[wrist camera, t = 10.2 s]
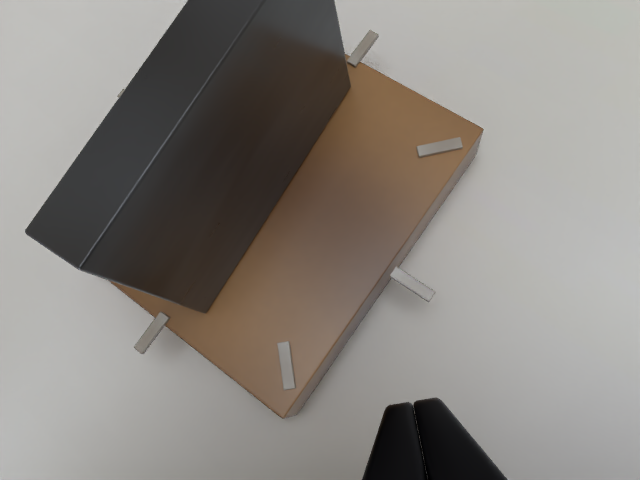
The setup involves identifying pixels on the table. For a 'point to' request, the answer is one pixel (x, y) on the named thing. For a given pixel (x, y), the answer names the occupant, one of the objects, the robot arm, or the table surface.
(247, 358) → the brown piece
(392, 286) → the table surface
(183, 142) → the dark grey block
